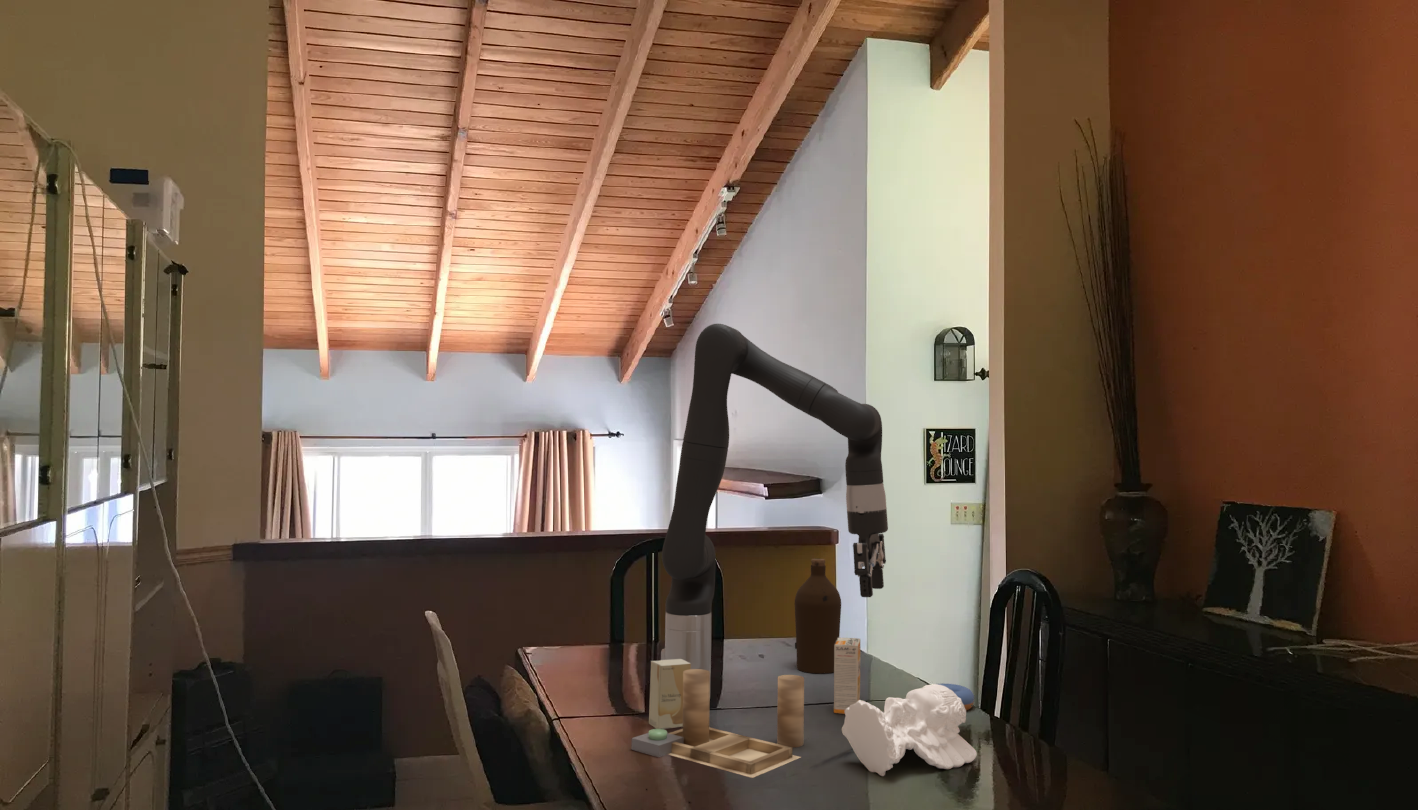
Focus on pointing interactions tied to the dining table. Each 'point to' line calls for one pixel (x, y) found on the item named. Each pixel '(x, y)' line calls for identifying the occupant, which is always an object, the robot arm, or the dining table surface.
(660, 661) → the skincare box
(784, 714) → the loose billet
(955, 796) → the dining table surface
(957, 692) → the doughnut
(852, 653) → the supplement box
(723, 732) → the wooden tray
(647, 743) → the block
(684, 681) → the cylinder
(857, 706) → the cherub figurine
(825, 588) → the olive oil
